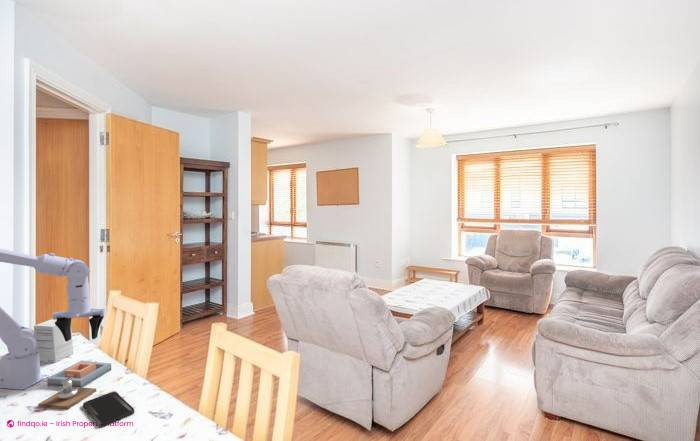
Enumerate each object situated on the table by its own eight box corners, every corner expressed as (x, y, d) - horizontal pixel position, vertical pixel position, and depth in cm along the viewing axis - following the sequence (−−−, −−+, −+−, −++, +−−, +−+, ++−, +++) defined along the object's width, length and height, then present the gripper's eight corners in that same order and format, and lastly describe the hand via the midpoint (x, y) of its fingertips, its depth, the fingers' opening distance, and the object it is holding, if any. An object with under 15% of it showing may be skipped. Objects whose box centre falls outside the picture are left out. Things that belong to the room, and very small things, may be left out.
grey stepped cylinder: (53, 399, 100) (52, 382, 100) (68, 391, 105) (67, 374, 104) (68, 400, 100) (66, 383, 99) (82, 392, 104) (81, 375, 104)
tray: (47, 385, 109) (47, 378, 109) (80, 367, 120) (80, 361, 120) (81, 388, 108) (80, 380, 108) (111, 369, 119) (111, 363, 119)
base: (38, 406, 98) (38, 403, 98) (68, 389, 107) (68, 386, 107) (67, 409, 97) (67, 406, 97) (96, 391, 106) (96, 388, 106)
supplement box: (55, 352, 132) (53, 318, 131) (74, 353, 131) (71, 318, 130) (35, 362, 125) (32, 325, 124) (54, 363, 124) (52, 326, 123)
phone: (114, 390, 105) (135, 410, 95) (115, 394, 105) (135, 414, 95) (81, 403, 99) (100, 425, 89) (81, 407, 99) (100, 429, 89)
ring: (61, 380, 111) (61, 372, 111) (80, 370, 117) (80, 362, 117) (77, 381, 110) (77, 373, 110) (96, 371, 116) (95, 363, 116)
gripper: (45, 303, 114) (48, 346, 115) (98, 299, 117) (101, 341, 118) (58, 296, 121) (61, 337, 122) (108, 293, 124) (110, 333, 125)
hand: (81, 339), depth 120 cm, fingers open, 7 cm apart
